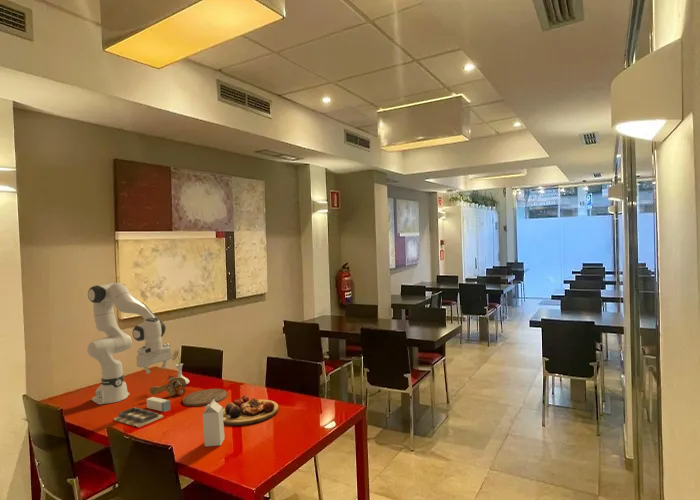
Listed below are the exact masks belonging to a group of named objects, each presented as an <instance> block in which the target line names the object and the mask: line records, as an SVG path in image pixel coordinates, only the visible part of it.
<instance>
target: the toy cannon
mask: <svg viewBox="0 0 700 500" xmlns="http://www.w3.org/2000/svg"><path fill="white" fill-rule="evenodd" d="M178 374H179V373H178V372H176V373H174V374H169V375H168V377H166V378H165V379H163V380H162V383H164V382H166V381H167V380H168V382H167V384H164V385H159V386H156V385H153V386H151V387H150V388H149V393H150V394H151V395H153V396H154V395H157V394H158V393H161V392H167V393H168V396H169V397H173V396H174V395H179V396H184V395H185V394H186V386H187V384H186V381H185V379H183V378H181V377H177V376H178ZM175 376H176V377H175ZM177 381H179V382H180V384H179V382H177ZM181 384H182V385H181Z"/></svg>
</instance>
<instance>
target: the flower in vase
mask: <svg viewBox="0 0 700 500" xmlns="http://www.w3.org/2000/svg"><path fill="white" fill-rule="evenodd" d="M179 353H180V351H179V349H178V348H177V349H174V351H173V353H172V359H171V360H172V362H173V361H176V362H177V363H178V364H174V366H175V367H176V369H177V373H179V374H177V375H176V377H181V378H183V379H185V381H186V385H188V384H189V383H190V380H189V378H188V377H185V376H184V375H183V374H182V369H183V365H184V363H181V358H180V357H179ZM177 382H179V381H177ZM179 384H180V382H179ZM181 385H182V384H181Z"/></svg>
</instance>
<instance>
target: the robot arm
mask: <svg viewBox="0 0 700 500" xmlns="http://www.w3.org/2000/svg"><path fill="white" fill-rule="evenodd" d="M87 297H88V300H89V301H90V302H91V303H93V305H92V306H93V317H94V321H95V328H96V330H97V331H99V332H102V333H105V335H106V336H107V337H102V338H98V339H96V340H93V341H91V342H90V343H89V344H88V346H87V353H88V355H89V357H91V358H92V359H93V358H94V359H95V360H96V361H97V362H98V363H99V365H100V367H101V369H100V370H101V375H102V378H100V385H99V386H98V387H97V388H96V390H95V392H94V395H95V396H93V397H92V398H91V401H92V402H94V403H96V404H97V405H105V404H112V403H118V402H121V401H123V400H126V399H127V398H129V397H128V396H130V392H129V391H128V387H127V383H126V381H125V375H124V372H123V363H122V361H120V360H119V359H117V358H116V359H115V358H114V356H113V355H115V354H119V353H122V352H125V351H127V350H129V349H130V348H131V347H132V345H133V339H134V340H135V341H137V342H143V341H145V342H144V345H142V346H141V347H139V348H138V349H136V354H137V356H136V366H137V367H138V368H141V369H142V368H143V369H144V370H145V374H147V375H148V374H151V369H148V368H149V366H152V365H155V364H159V363H162V365H161V366H160V367H161V370H164V369H166V365H167V362H168V361H169V360H172V355H173V353H172V352H173V351H172V347H171V344H170V343H164V344H163V338H162V337H163V336H164V334H165V333H166V330H167V329H166V328H167V327H166V325H165V323H164V322H163V321H162V320H160V319H159V318H158V317H157V315H155V314H154V312H153V311H152V310H151V309H150V308H149V307H148V306H147V305H146V304H145V303H144V302H142V301H140V300H139V299H137V298H136V297H135V296H134V295H133V293H132V292H131V290H130V289H129V288H128V287H127V286H126V284H124V283H122V282H110V283H109V282H108V283H103V284H99V285H97V284H96V285H93V286H91V287H90V288H89V289H88V292H87ZM114 307H115V308H116V309H117V311H119V312H121V313H123V314H135V315H138V316H141V317H142V318H143V319H144V321H143V322H142V323H140V324H137V325H135V326H134V327H133V329H132V337H133V339H132V337H131V336H130V335H129V334H127V333H125V332H124V331H122V329H121V328H120V327H119V325H118V322H117V319H116V314H115V309H114Z"/></svg>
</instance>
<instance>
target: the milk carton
mask: <svg viewBox="0 0 700 500" xmlns="http://www.w3.org/2000/svg"><path fill="white" fill-rule="evenodd" d="M204 409H205V410H204V412H203V413H202V424H203V425H202V426H203V427H202V429H203V439H204V440H203V441H204V447H218V446H221V445H222V444H223V442H224V440H225V424H224V423H223V409H224V407H223V406H222V405H220V404H219V402H215V400H214V399H213V401H212V402H211V403H210V405H209V404H208V405H206V406H204Z"/></svg>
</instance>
